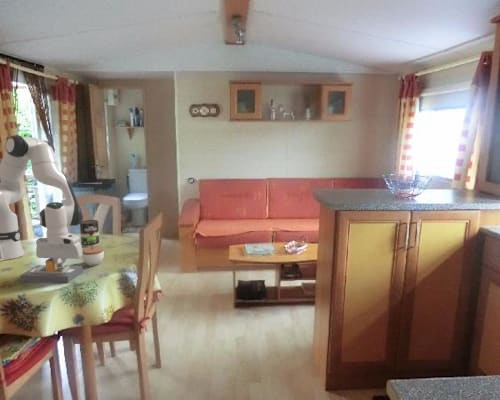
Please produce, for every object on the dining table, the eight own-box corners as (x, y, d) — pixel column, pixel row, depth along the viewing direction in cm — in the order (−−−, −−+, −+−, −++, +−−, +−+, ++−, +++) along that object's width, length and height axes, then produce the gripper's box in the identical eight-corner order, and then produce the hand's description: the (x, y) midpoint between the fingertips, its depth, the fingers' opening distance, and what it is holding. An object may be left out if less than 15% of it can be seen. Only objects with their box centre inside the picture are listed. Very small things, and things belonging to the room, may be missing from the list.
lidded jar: (78, 263, 188) (77, 246, 186) (98, 258, 196) (97, 241, 194) (88, 269, 181) (86, 250, 179) (108, 263, 189) (107, 245, 187)
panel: (20, 281, 165) (19, 272, 164) (38, 271, 178) (37, 262, 177) (68, 282, 164) (67, 273, 163) (82, 271, 177) (82, 263, 176)
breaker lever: (46, 271, 169) (45, 260, 168) (51, 268, 172) (50, 257, 171) (52, 271, 168) (51, 260, 167) (57, 268, 172) (56, 257, 171)
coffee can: (101, 245, 219) (99, 222, 216) (82, 248, 213) (81, 224, 211) (98, 241, 227) (96, 218, 225) (79, 243, 222) (78, 221, 219)
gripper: (31, 239, 165) (34, 268, 167) (76, 240, 164) (78, 269, 167) (40, 235, 171) (42, 263, 174) (83, 236, 170) (85, 265, 173)
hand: (60, 266), depth 170 cm, fingers closed
